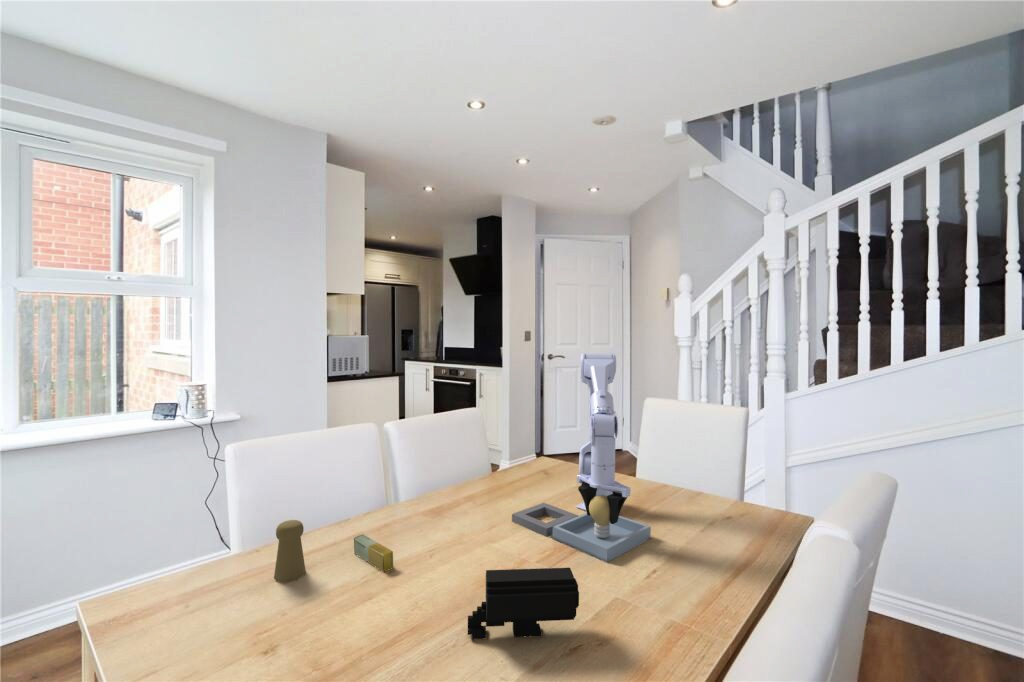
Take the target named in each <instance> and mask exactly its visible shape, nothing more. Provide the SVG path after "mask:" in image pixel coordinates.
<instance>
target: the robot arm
mask: <svg viewBox="0 0 1024 682" xmlns="http://www.w3.org/2000/svg"><path fill="white" fill-rule="evenodd" d="M579 365H580V371H579V372H580V379H581V383H584V384H585V385H587V389H588V392H589V396H588V397H589V399H588V403H589V404H588V405H589V409H588V410H589V412H588V413H589V414H588V416H589V417H588V421H589V422H588V424H589V425H588V426H589V427H588V428H589V430H588V432H589V433H588V435H589V437H588V440H589V441H588V442H587V443H585V444H583V445H582V446H581V447H580V448H579V456H578V457H579V458H578V473H579V474H577V475H576V483H577V484H580V485H579V486H578V488H577V490H578V491H579V494H580V495H581V498H582V501H583V503H579V504H577V505H576V508H577V509H580V510H583V511H586V513H587V515H589V516H590V515H591V514H590V512H589V504H590V501H591V500H592V499H593V498H594V497H595V496H598V495H605V496H607V499H608V502H609V508H610V523H611V524H614V523H617V522H618V518H619V516H620V514H621V510H622V508H623V506H624V504H625V502H626V501H627V499H628V498H629V497H630V496H631V487H629V486H627V485H624V484H622V483H621V482H619V481H617V480H616V479H615V478H616V477H615V476H616V439H617V438H618V435H619V434H618V433H619V419H618V415H617V411H615V407H614V397H613V395H612V394H611V392H609V386H608V385H610V384H612V383H613V382H614V380H615V376H616V372H617V356H616V354H615V353H586V352H582V353H581V354H580V363H579Z"/></svg>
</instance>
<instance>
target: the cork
mask: <svg viewBox="0 0 1024 682" xmlns="http://www.w3.org/2000/svg"><path fill="white" fill-rule="evenodd" d="M304 530H305V529H304V525H303V522H302V521H300V520H297V519H289V520H285V521H283V522H280V523H279V524H278V525H277V527H276V530H275V536H276V538H277V540H278V543H277V552H276V553H277V554H276V561H275V568H274V575H273V579H275V580H276V581H275V580H274V581H275V582H277V581H279V582H278V583H290V582H291V581H292V582H294V580H295V581H297V579H298V580H300V579H302V578H303V577H304V576H305V575H306V574H307V572H306V570H307V569H306V565H305V563H306V562H305V556H304V551H303V544H302V535H303V533H304ZM305 573H306V574H305ZM303 575H304V576H303ZM302 576H303V577H302ZM301 577H302V578H301ZM299 578H300V579H299Z"/></svg>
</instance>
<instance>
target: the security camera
mask: <svg viewBox="0 0 1024 682" xmlns="http://www.w3.org/2000/svg"><path fill="white" fill-rule="evenodd" d="M579 606H580V591H579V584H578V582H577V579H576V578H575V576H574V574H573V571H572V569H571V567H547V568H543V567H541V568H518V569H517V568H515V569H509V568H508V569H486V570H485V601H481V605H480V606H476V610H472V612H471V613H472V614H471V615H467V635H468V636H471V639H472V640H483V638H486V639H487V628H488V627H504V626H505V623H512V633H513V634H512V635H513V638H529V636H535V637H542V629H541V624H540V623H538V622H552V621H574V620H575V618H576V617H577V609H579ZM482 623H485V624H486V625H483V624H482ZM524 636H526V637H524Z"/></svg>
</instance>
